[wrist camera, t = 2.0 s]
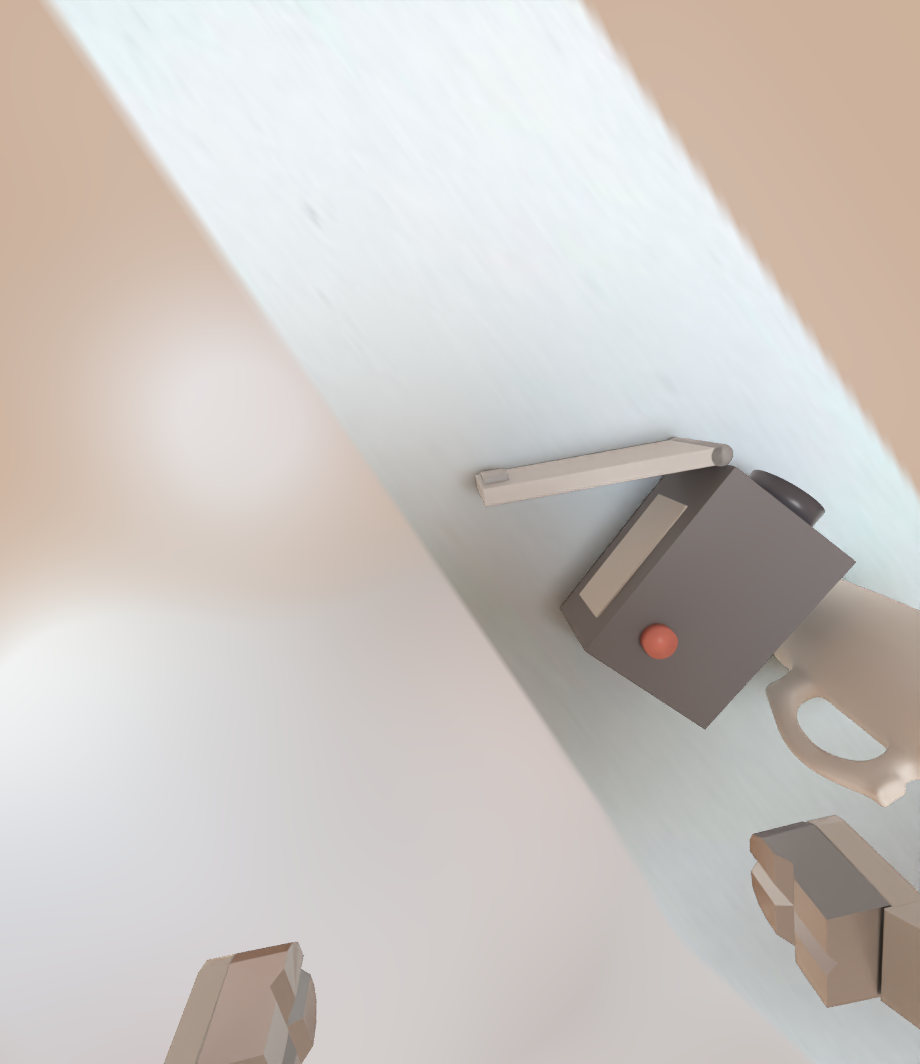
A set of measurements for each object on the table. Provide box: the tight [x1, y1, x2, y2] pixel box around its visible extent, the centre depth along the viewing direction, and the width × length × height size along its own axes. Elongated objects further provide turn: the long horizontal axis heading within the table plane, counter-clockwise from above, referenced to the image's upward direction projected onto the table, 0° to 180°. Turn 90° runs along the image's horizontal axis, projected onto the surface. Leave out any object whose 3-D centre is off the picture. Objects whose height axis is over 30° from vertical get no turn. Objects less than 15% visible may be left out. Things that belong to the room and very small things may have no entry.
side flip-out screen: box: [475, 437, 733, 507], centre depth 26 cm, size 1×12×5 cm, turn 100°
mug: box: [766, 579, 920, 807], centre depth 26 cm, size 10×7×12 cm, turn 122°
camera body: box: [560, 465, 856, 729], centre depth 27 cm, size 8×12×6 cm, turn 145°
